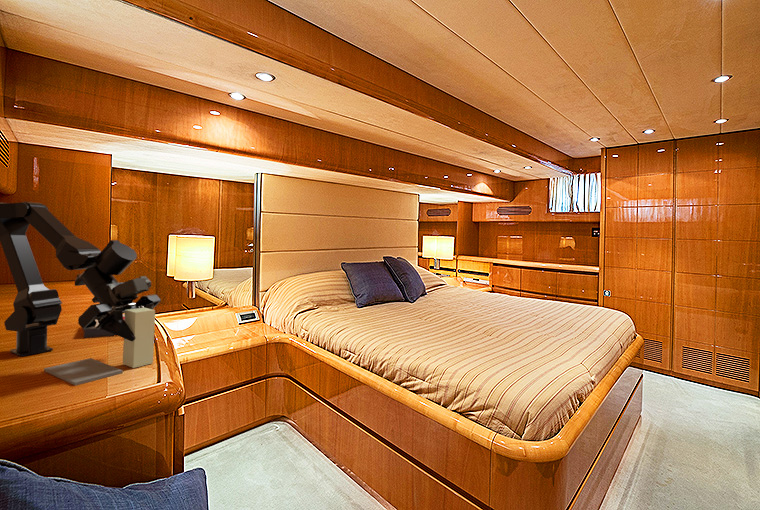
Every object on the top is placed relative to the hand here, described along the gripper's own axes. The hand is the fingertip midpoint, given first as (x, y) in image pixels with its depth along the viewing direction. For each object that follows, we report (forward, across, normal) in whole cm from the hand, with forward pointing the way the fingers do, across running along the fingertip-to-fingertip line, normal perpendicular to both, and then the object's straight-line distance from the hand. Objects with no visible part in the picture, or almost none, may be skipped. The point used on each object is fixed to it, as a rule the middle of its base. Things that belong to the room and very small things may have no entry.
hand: (143, 336), depth 90 cm
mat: (-1, -8, +11) cm, 13 cm away
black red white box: (-18, +23, +28) cm, 41 cm away
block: (+4, 0, +6) cm, 7 cm away
